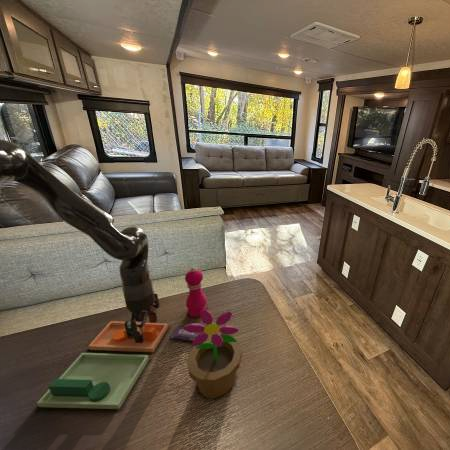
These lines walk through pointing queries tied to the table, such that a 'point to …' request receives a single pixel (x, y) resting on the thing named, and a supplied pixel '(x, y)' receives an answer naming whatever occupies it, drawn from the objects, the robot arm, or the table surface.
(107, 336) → the orange tray
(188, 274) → the pepper mill
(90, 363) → the green tray
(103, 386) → the green spoon
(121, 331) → the orange spoon
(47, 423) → the table surface
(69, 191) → the robot arm
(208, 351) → the flowerpot
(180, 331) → the snack package
